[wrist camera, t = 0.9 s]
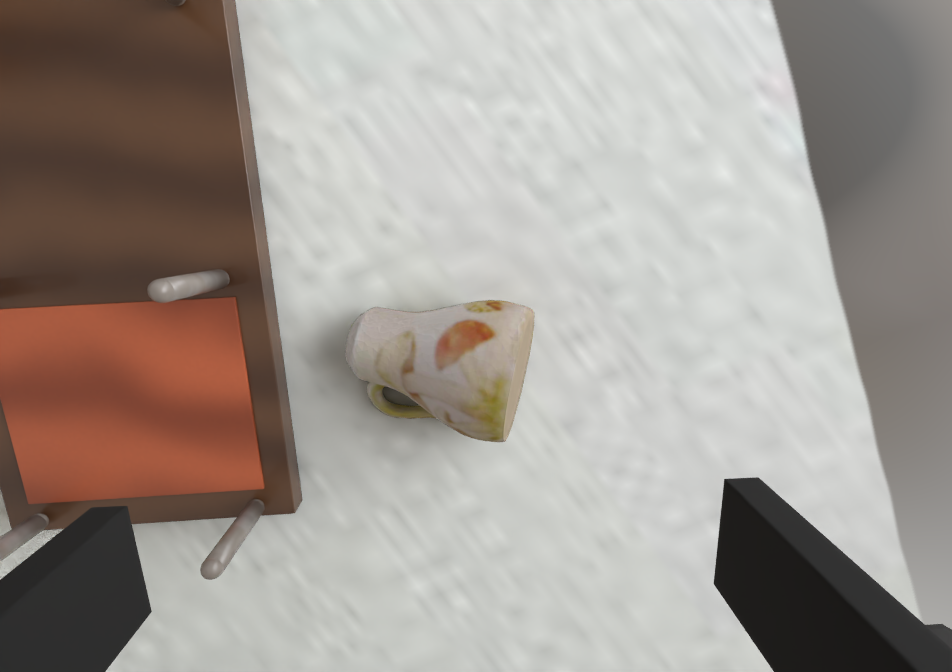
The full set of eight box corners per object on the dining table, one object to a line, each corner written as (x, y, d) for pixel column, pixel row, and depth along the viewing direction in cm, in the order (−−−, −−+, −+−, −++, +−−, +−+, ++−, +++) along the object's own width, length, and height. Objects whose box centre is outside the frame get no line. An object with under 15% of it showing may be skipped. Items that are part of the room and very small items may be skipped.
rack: (302, 500, 30) (254, 587, 23) (33, 517, 30) (-105, 612, 22) (234, -8, 24) (139, -111, 17) (-104, 2, 24) (-353, -100, 16)
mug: (347, 273, 27) (428, 263, 19) (487, 313, 33) (599, 319, 24) (316, 404, 27) (384, 453, 19) (463, 424, 32) (568, 470, 24)
